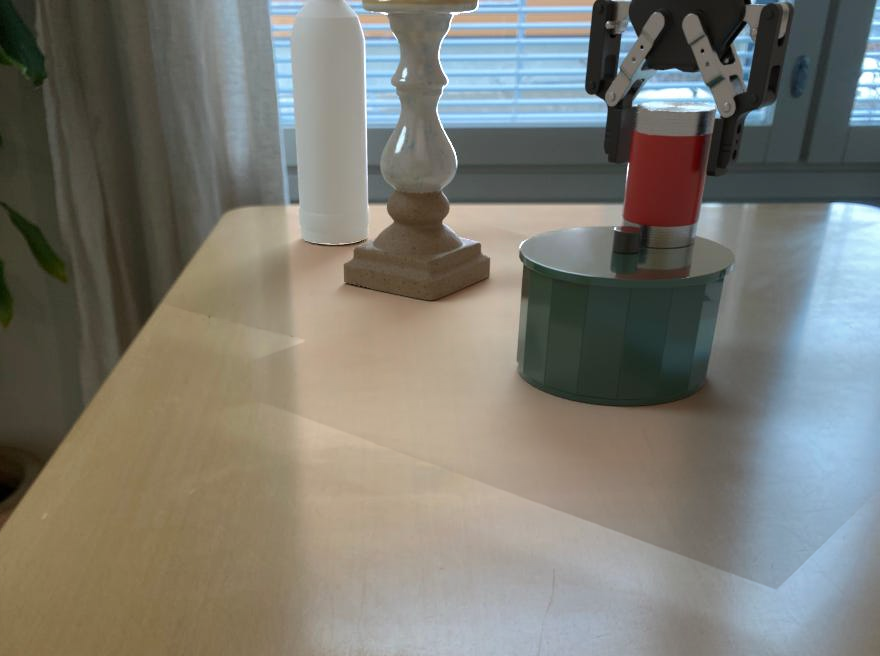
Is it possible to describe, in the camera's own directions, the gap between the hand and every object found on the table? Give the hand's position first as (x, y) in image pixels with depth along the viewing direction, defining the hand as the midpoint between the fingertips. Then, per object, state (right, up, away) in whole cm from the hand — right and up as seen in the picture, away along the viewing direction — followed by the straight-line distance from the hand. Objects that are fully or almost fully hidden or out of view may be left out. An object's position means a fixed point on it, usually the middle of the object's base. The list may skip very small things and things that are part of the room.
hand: (666, 168), depth 72 cm
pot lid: (-3, -7, 0) cm, 7 cm away
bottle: (-27, +11, +41) cm, 50 cm away
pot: (-3, -13, +5) cm, 15 cm away
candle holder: (-18, +1, +27) cm, 32 cm away
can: (0, -4, +3) cm, 5 cm away
